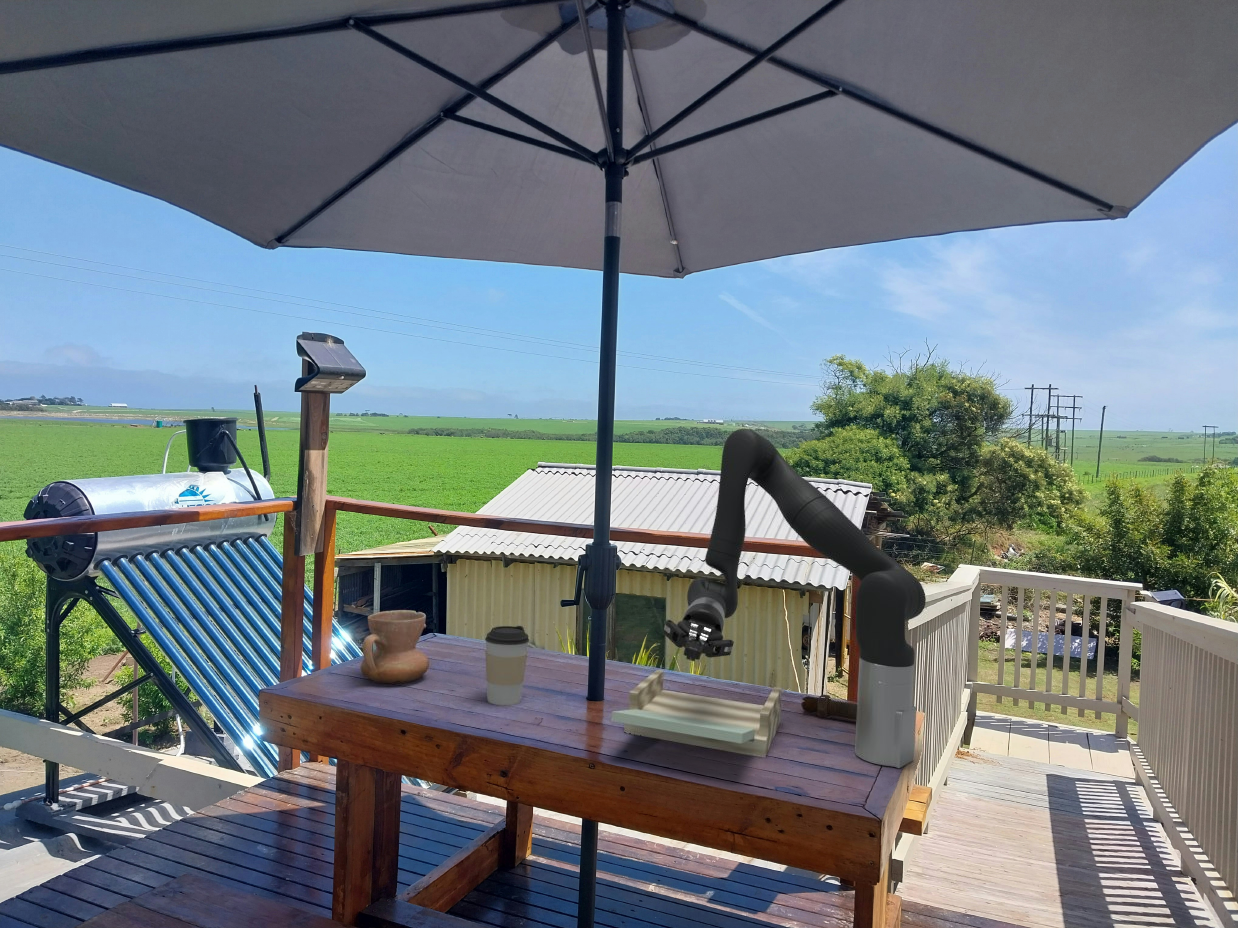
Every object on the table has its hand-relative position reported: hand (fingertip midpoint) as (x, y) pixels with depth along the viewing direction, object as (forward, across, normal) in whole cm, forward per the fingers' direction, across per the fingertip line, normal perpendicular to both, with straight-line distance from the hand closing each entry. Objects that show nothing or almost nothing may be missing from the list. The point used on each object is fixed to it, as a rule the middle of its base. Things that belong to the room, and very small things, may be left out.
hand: (691, 654), depth 123 cm
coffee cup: (-20, -35, +30) cm, 51 cm away
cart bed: (-19, +6, +21) cm, 29 cm away
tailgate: (-10, +4, +17) cm, 20 cm away
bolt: (-35, +32, +17) cm, 50 cm away
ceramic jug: (-25, -62, +37) cm, 76 cm away
